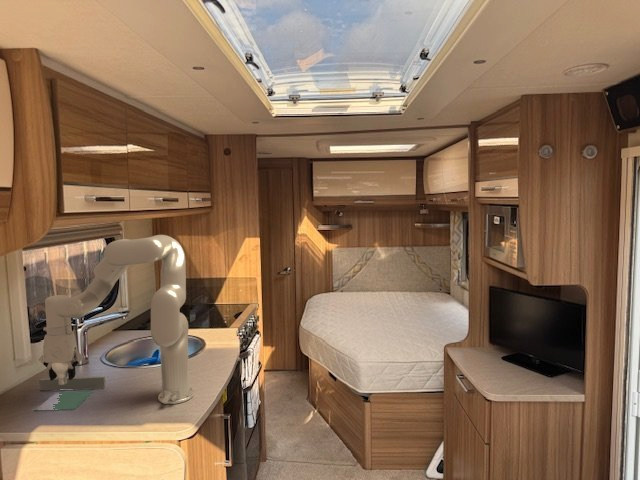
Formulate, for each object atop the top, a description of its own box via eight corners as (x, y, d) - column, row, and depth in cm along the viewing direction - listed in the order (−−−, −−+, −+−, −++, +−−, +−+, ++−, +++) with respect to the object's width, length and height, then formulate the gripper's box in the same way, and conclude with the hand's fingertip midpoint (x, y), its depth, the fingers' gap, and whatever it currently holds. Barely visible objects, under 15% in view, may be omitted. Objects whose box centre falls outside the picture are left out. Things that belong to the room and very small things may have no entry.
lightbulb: (54, 382, 158) (52, 353, 157) (74, 380, 160) (72, 351, 159) (51, 390, 152) (49, 359, 151) (71, 387, 154) (69, 357, 153)
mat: (74, 409, 150) (74, 408, 150) (33, 411, 149) (33, 410, 149) (93, 391, 164) (93, 390, 164) (55, 393, 163) (55, 392, 163)
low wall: (104, 388, 166) (103, 377, 166) (40, 391, 165) (39, 380, 165) (105, 387, 168) (105, 376, 167) (42, 389, 166) (41, 378, 166)
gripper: (28, 333, 150) (31, 383, 151) (78, 332, 151) (82, 382, 152) (40, 327, 157) (44, 375, 159) (89, 326, 158) (92, 373, 160)
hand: (62, 378), depth 156 cm, fingers closed on lightbulb, 5 cm apart
